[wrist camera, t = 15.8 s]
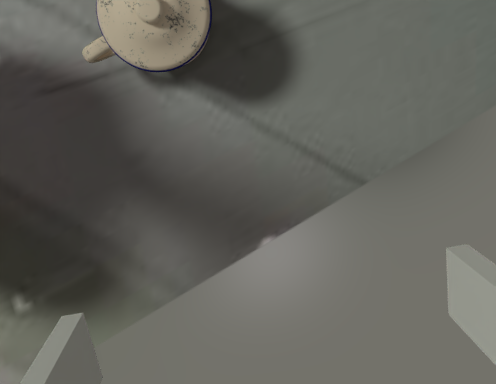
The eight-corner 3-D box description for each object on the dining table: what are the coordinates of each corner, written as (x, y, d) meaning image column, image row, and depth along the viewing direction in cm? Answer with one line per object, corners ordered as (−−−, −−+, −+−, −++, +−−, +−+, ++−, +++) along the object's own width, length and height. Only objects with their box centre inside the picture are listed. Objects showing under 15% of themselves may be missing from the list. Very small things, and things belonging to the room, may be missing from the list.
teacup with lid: (184, -46, 42) (172, -87, 31) (228, 44, 44) (232, 37, 33) (75, 15, 43) (24, -3, 31) (125, 100, 45) (94, 111, 34)
